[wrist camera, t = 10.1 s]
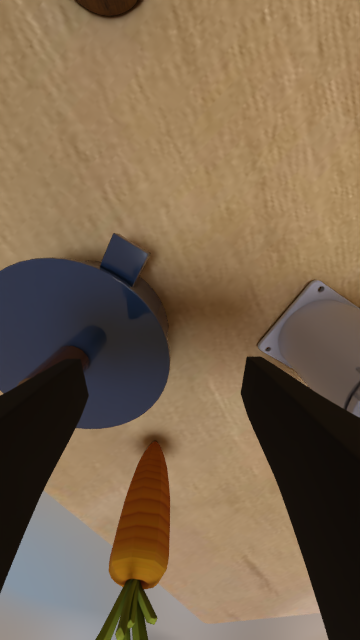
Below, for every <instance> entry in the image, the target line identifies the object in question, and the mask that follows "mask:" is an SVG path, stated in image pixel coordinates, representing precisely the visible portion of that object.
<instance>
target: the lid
mask: <svg viewBox="0 0 360 640" xmlns="http://www.w3.org/2000/svg"><path fill="white" fill-rule="evenodd" d="M65 359H81V363H82V367H83V372H84V376H85V381H86V385H87V390H88V394H89V397H88V400H87V403H86V405H85V408H84V411H83V413H82V416H81V418H80V420H79V422H78V424H77V426H76V428H82V429H101V428H109V427H114V426H118V425H121V424H124V423H127V422H130V421H132V420H134V419H136V418H138V417H139V416H141V415H142V414H144V413H145V412H146V411H147V410H148V409H150V408H151V407H152V406H153V405H154V403H155V402H156V401H157V400H158V399H159V397H160V395H161V394H162V392H163V390H164V388H165V385H166V383H167V380H168V375H169V370H170V349H169V344H168V340H167V336H166V333H165V331H164V328H163V326H162V323H161V322H160V320H159V318H158V316H157V315H156V313H155V312H154V310H153V309H152V307H151V306H150V305H149V303H148V302H147V301H146V300H145V299H144V298H143V297H142V296H141V295H140V294H139V293H138V292H137V291H136V290H135V289H134V288H132V287H131V286H130V285H129V284H128V283H126V282H125V281H123V280H122V279H120V278H119V277H117V276H116V275H114V274H112V273H110V272H108V271H106V270H104V269H102V268H100V267H98V266H95V265H92V264H89V263H86V262H83V261H78V260H73V259H68V258H55V257H51V258H36V259H31V260H26V261H21V262H18V263H15V264H13V265H10V266H8V267H6V268H4V269H3V270H1V271H0V391H1V392H2V393H6V392H8V391H10V390H11V389H13V388H15V387H17V386H18V385H20V384H22V383H24V382H25V381H27V380H29V379H30V378H32V377H34V376H36V375H37V374H39V373H41V372H43V371H44V370H46V369H48V368H49V367H51V366H53V365H55V364H57V363H59V362H61V361H63V360H65Z"/></svg>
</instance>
